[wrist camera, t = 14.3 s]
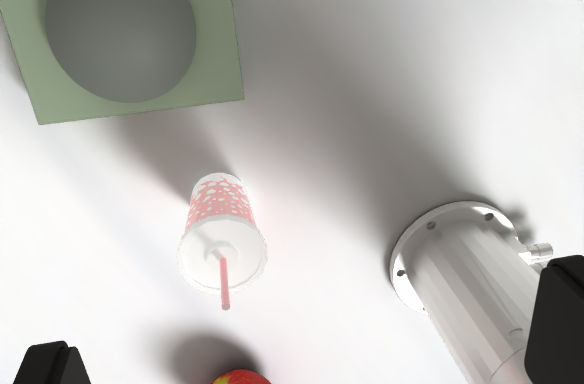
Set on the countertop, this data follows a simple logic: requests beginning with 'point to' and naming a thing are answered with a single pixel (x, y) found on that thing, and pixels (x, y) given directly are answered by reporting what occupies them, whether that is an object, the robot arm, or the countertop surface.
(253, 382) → the apple
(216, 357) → the countertop surface
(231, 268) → the beverage cup
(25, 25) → the green domed square base
